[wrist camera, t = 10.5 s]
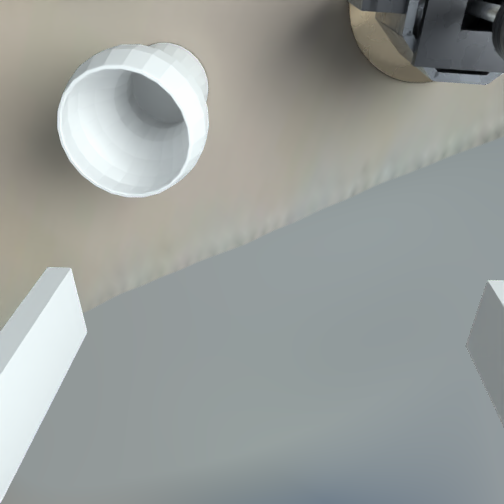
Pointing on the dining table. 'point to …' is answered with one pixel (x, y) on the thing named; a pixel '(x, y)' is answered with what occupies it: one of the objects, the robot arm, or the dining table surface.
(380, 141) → the dining table surface
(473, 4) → the black knob on rod
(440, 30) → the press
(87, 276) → the dining table surface
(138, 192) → the cup
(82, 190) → the dining table surface
